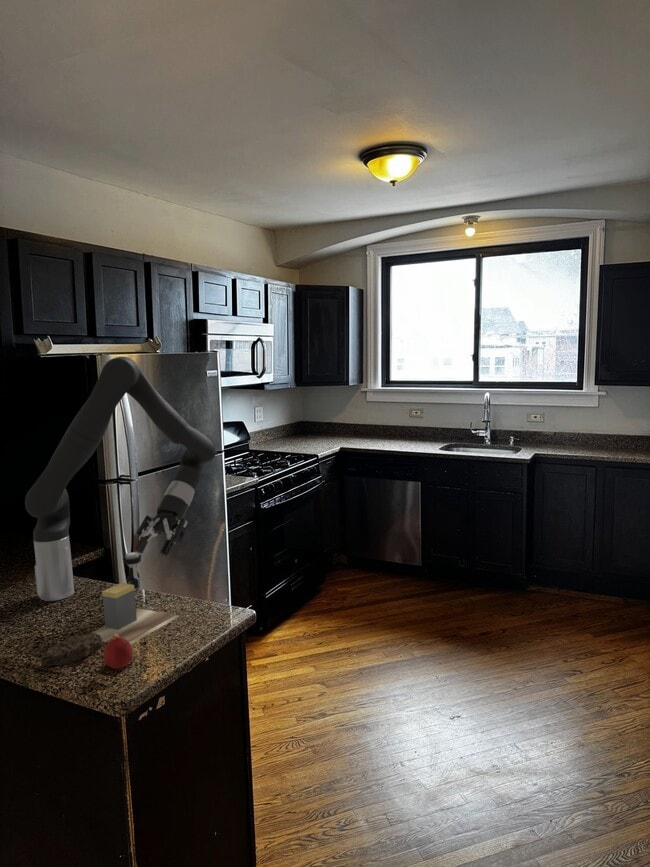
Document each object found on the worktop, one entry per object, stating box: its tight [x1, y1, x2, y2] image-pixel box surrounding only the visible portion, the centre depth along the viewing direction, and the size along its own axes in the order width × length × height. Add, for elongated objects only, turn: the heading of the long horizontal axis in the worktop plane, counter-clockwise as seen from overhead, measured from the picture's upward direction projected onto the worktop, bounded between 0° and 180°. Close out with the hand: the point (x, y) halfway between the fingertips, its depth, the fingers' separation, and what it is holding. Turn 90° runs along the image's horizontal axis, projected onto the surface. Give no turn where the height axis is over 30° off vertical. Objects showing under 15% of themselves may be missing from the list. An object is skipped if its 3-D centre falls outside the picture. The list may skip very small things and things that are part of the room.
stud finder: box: [101, 582, 137, 630], centre depth 145 cm, size 4×6×9 cm
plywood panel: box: [91, 608, 181, 645], centre depth 144 cm, size 14×18×1 cm
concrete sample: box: [39, 632, 103, 667], centre depth 131 cm, size 12×10×5 cm
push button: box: [122, 551, 142, 589], centre depth 176 cm, size 7×5×10 cm
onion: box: [102, 634, 133, 670], centre depth 124 cm, size 6×6×8 cm
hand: (150, 553), depth 155 cm, fingers open, 8 cm apart
